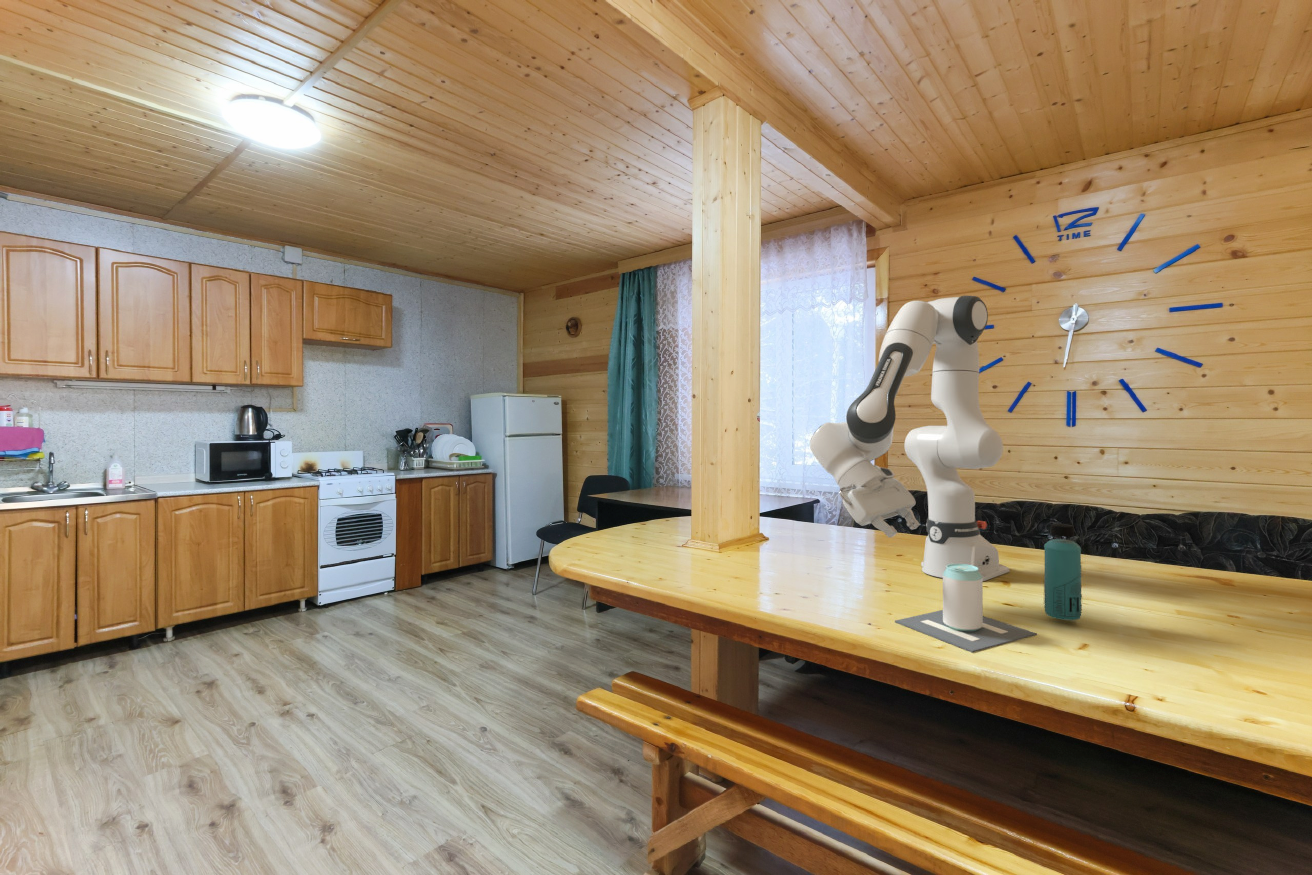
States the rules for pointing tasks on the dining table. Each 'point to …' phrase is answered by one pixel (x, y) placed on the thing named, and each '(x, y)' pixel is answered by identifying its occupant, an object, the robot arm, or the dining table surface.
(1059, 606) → the beverage bottle
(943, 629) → the letter mat
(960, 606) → the can
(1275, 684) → the dining table surface
